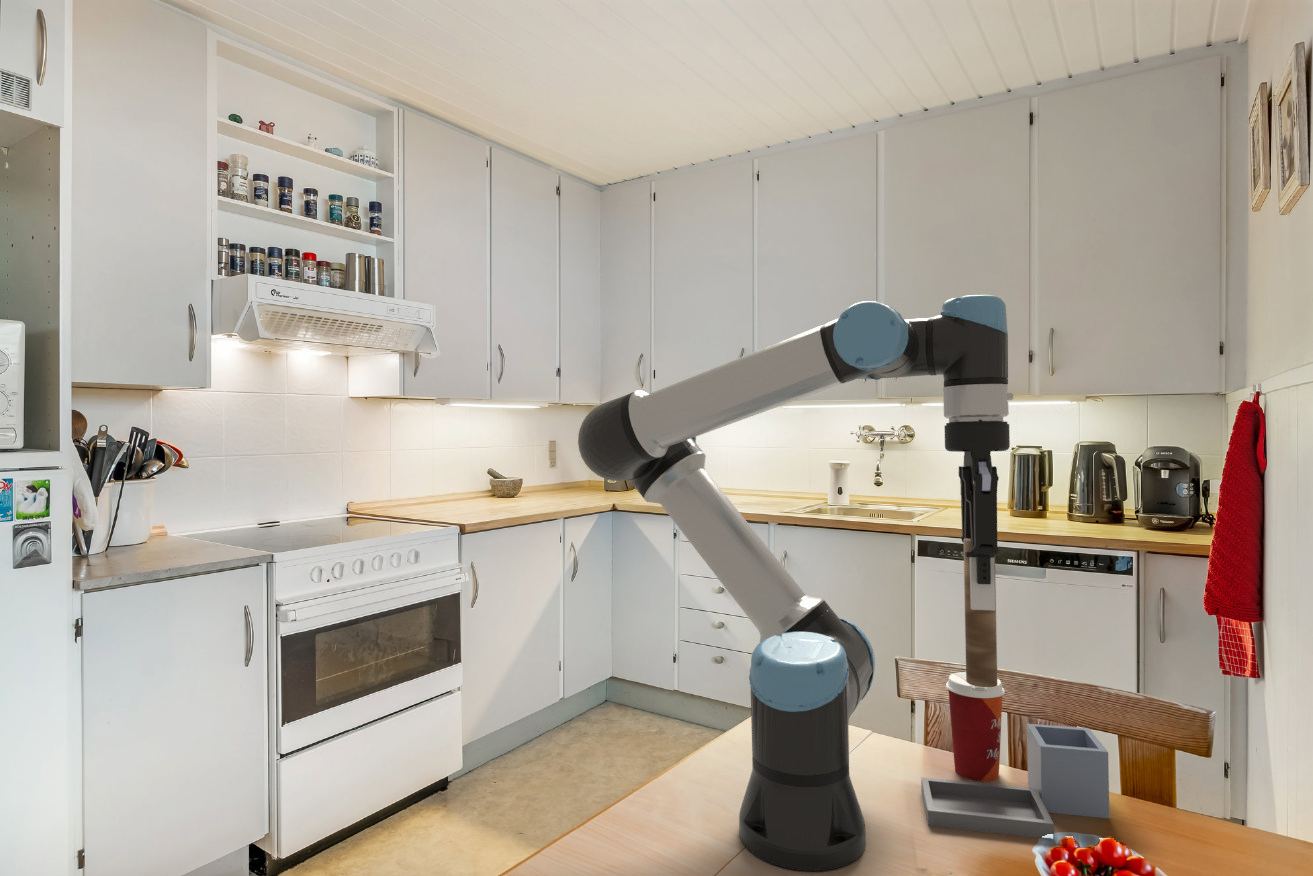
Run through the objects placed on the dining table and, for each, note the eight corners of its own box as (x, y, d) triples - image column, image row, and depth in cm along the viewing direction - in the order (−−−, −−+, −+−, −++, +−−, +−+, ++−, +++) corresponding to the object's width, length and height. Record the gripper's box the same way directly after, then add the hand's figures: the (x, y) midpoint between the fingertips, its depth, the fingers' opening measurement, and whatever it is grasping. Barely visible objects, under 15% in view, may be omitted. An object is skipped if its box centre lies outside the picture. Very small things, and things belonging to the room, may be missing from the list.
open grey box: (1042, 817, 92) (1040, 746, 92) (1028, 789, 100) (1026, 723, 100) (1109, 824, 90) (1108, 752, 90) (1090, 795, 98) (1089, 728, 98)
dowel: (968, 686, 91) (965, 541, 91) (964, 677, 94) (961, 537, 94) (999, 688, 90) (997, 542, 90) (994, 678, 93) (991, 538, 93)
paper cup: (1013, 793, 99) (1011, 689, 99) (953, 788, 100) (951, 686, 100) (998, 767, 107) (996, 671, 107) (942, 763, 108) (940, 669, 108)
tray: (928, 831, 90) (927, 810, 90) (921, 796, 98) (921, 777, 98) (1054, 846, 86) (1053, 824, 86) (1035, 808, 95) (1035, 788, 95)
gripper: (1023, 417, 83) (1027, 623, 83) (996, 420, 99) (999, 593, 99) (953, 419, 85) (957, 620, 85) (937, 422, 101) (940, 591, 101)
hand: (979, 605), depth 92 cm, fingers closed on dowel, 3 cm apart
